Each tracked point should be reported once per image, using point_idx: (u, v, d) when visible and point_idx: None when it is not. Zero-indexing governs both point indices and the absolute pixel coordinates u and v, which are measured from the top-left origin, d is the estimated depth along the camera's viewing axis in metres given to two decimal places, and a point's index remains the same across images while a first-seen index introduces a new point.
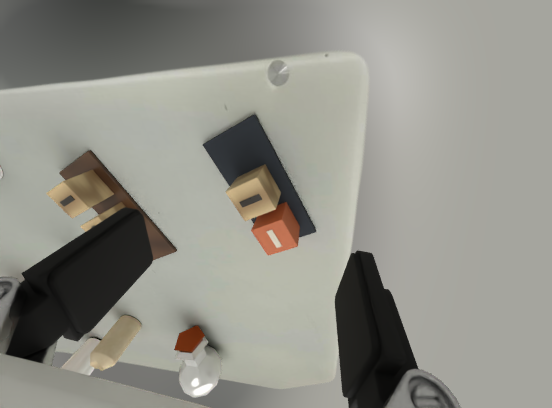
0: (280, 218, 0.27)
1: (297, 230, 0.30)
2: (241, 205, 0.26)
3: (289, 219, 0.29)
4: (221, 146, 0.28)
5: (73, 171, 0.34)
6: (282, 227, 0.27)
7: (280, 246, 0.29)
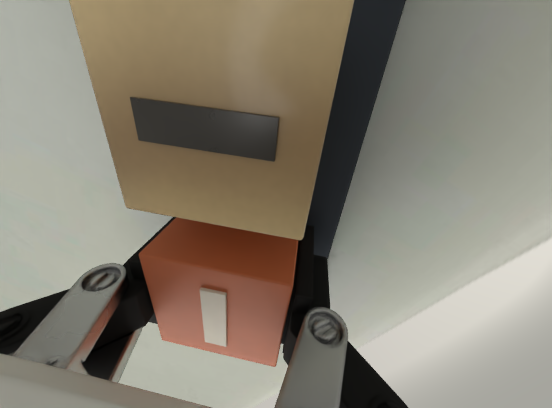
0: (285, 274, 0.06)
1: None
2: (137, 124, 0.04)
3: None
4: None
5: None
6: (271, 309, 0.06)
7: (220, 343, 0.08)
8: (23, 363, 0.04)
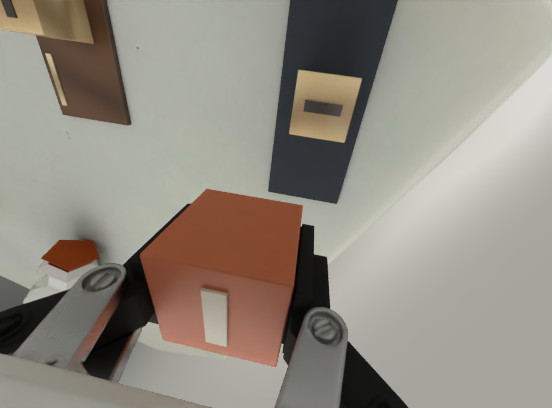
0: (286, 274, 0.06)
1: None
2: (304, 107, 0.17)
3: None
4: (317, 6, 0.17)
5: None
6: (272, 309, 0.07)
7: (221, 343, 0.08)
8: (23, 363, 0.04)
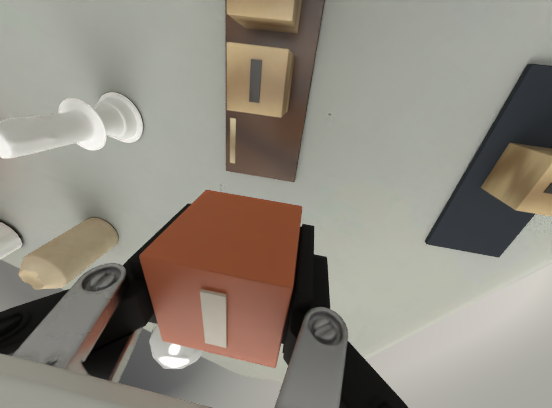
0: (285, 276, 0.06)
1: None
2: (547, 189, 0.17)
3: None
4: (551, 85, 0.17)
5: None
6: (271, 311, 0.07)
7: (220, 344, 0.08)
8: (23, 363, 0.04)
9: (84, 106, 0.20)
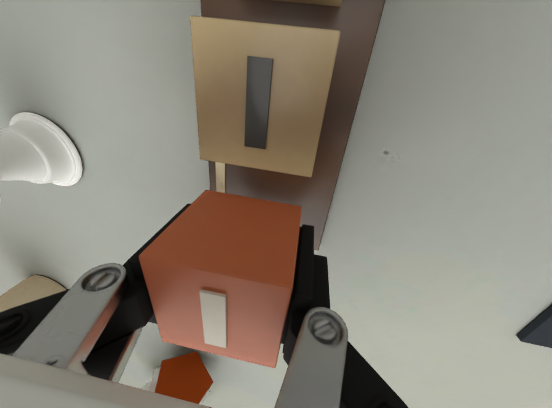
0: (285, 276, 0.06)
1: None
2: None
3: None
4: None
5: None
6: (271, 310, 0.07)
7: (220, 344, 0.08)
8: (23, 363, 0.04)
9: None
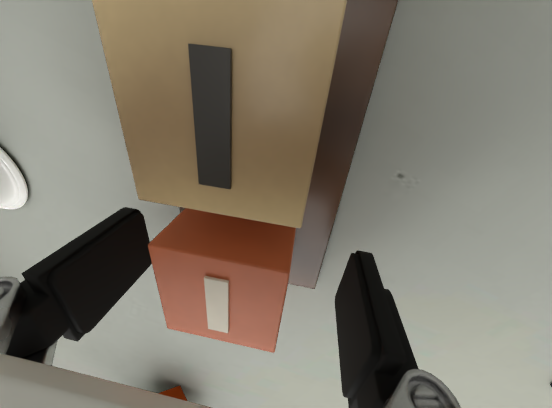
0: (283, 263, 0.07)
1: None
2: None
3: None
4: None
5: None
6: (270, 296, 0.07)
7: (222, 330, 0.08)
8: (23, 363, 0.04)
9: None
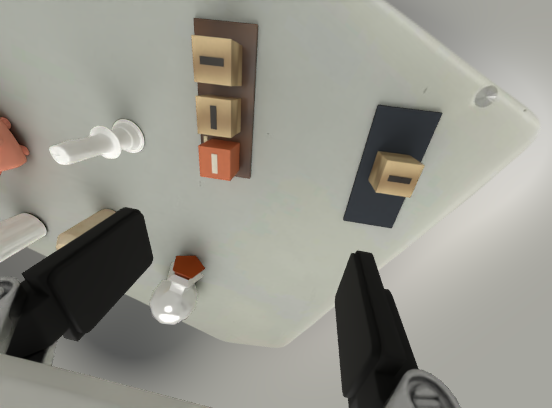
0: (229, 149, 0.30)
1: (236, 170, 0.34)
2: (388, 178, 0.28)
3: (235, 156, 0.32)
4: (392, 117, 0.29)
5: (215, 29, 0.27)
6: (227, 158, 0.30)
7: (215, 173, 0.31)
8: (23, 363, 0.04)
9: (107, 131, 0.31)
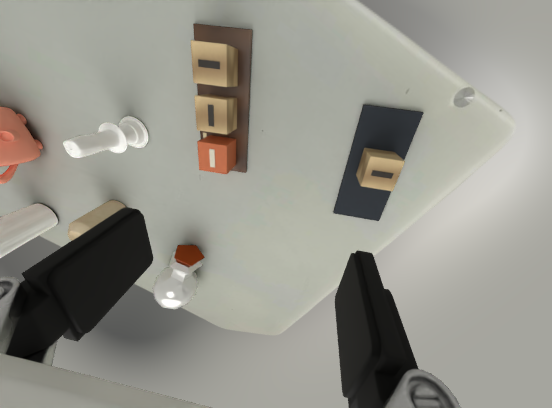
0: (225, 144, 0.32)
1: (232, 165, 0.36)
2: (371, 173, 0.30)
3: (231, 152, 0.35)
4: (377, 116, 0.31)
5: (213, 34, 0.29)
6: (223, 153, 0.33)
7: (213, 167, 0.34)
8: (23, 363, 0.04)
9: (114, 127, 0.33)
